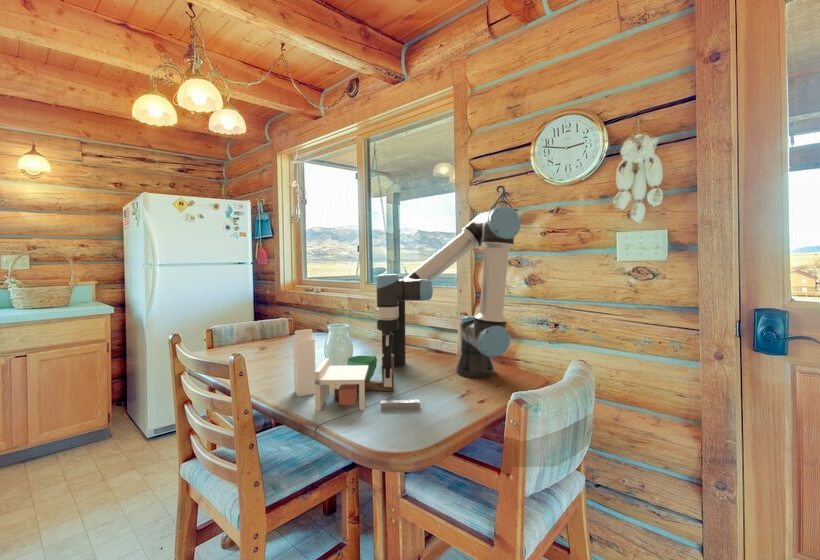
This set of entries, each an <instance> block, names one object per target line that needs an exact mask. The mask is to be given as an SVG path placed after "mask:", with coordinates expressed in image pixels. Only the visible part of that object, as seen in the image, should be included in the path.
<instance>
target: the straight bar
mask: <svg viewBox="0 0 820 560" xmlns="http://www.w3.org/2000/svg"><path fill="white" fill-rule="evenodd" d="M399 410H401V411H403V410H405V411H406V410H407V411H412V410H417V411H418V410H421V400H420V399H380V411H399Z"/></svg>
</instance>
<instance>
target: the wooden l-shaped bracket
mask: <svg viewBox="0 0 820 560" xmlns="http://www.w3.org/2000/svg"><path fill="white" fill-rule="evenodd" d="M383 366H384V354H382V353H381V380H370V381H365V391H381V392H384V391H385V392H392V391H394V390H395V367H394V354H391V366H392V387H384V369H382V367H383ZM341 385H345V384H336V386H335V388H334V397H339V388H340V386H341ZM356 389H357V391H359V384H356Z"/></svg>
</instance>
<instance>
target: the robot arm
mask: <svg viewBox="0 0 820 560" xmlns="http://www.w3.org/2000/svg"><path fill="white" fill-rule="evenodd" d="M521 226H522V224H521V218H520V216H519V213H518V212H517V211H516V210H515V209H514V208H512V207H510V206H505V205H502V206H495V207H493V208H490V209H487V210H484V211H482V212H480V213H479V214H477V216H475V217H474V218H473V219H472V220H470V222H468V223H467V225H466V226H464V227H463V228H462V229H461V233H459V234H458V235H457V236H456V237H455V238H453V239H452V240H451V241H449V242H448V243H447V244H446V245H444V246H443V247H442V248H441V249H439V250H438V251H436V253H434V254H433V255H432V256H430V257H429V258H428V259H426V260H425V261H424V262H423V263H421V265H419V266H418V267H417V268H416V269H414V270H413V271H412V272H411V273H409V274H407V276H405V277H402V278H400V279H399V275H398V274H397V273H395V274H394V273H386V274H385V273H384V274H383V273H382V274H381V273H380V274H378V275H377V277H376V308H375V311H374V312H376V317H377V320H376V329H377V331H380V332H382V331H384V334H382V333H381V342H382V341H383V348H384V366H383V367H382V366H381V370H382V369H384V387H392V366H391V354H392V348H393V338H394V334H392V333H391V331H395V330H397V329H398V328H399V324H398V319H397V318H398V317H399V306H398V302H399V301H405V302H411V301H412V302H415V301H417V302H424V301H430V300H431V299H432V297H433V292H434V290H433V287H434V286H433V283H432V281H434V280H436V278H438V277H439V276H440V275H441V274H443V273H444V272H445V271H447V270H448V269H449V268H450V267H452V266H453V265H454V264H455V263H457V261H459V260H460V259H461V258H463V257H464V256H465V255H466V254H468V252H470V251H471V250H473V249H478V248H479V247H481V246H483V247H484V255H483V268H482V278H481V290H480V291H481V292H480V301H479V302H480V303H479V312H478V313H477V314H476V315H465V316H462V317H461V318H460V324H459V326H460V353H459V357H458V359H457V363H456V369H455V372H456V374H458V375H460V376H463V377H467V378H488V377H491V376H494V374H495V366H494V362H493V360H492V358H497V357H500V356H502V355H503V354H504V353H506V352H507V351H508V350H509V347H510V344H511V335H510V333H509V331H508V330H507V323H508V322H507V321H508V320H507V318H506V317H505V316H504V307H505V306H504V305H505V297H506V296H505V295H506V286H507V285H506V284H507V276H508V275H507V274H508V263H509V250H510V249H511V248H512V247H514V244H515V243H514V242H515V237H516V236H517V235H518V234H519V232H520V229H521Z"/></svg>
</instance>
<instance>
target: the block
mask: <svg viewBox="0 0 820 560" xmlns="http://www.w3.org/2000/svg"><path fill="white" fill-rule="evenodd" d="M357 391H358V390H357V389H356V384H345V385H341V386H340V388H339V396H338V406H339V405H340V406H344V405H345V406H352V405H353V406H355V405H356V401H357V397H358V396H357V394H358V392H357Z"/></svg>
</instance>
